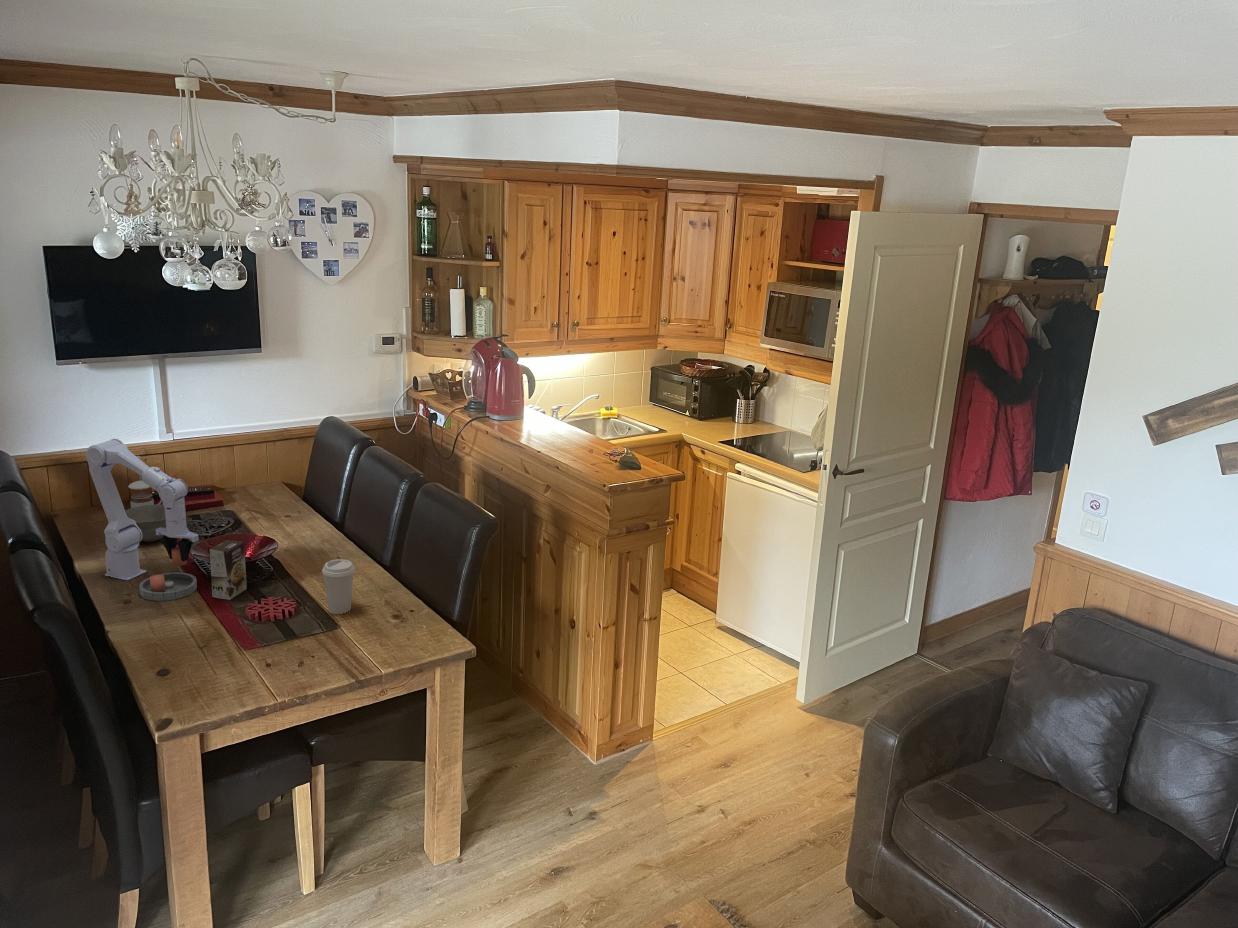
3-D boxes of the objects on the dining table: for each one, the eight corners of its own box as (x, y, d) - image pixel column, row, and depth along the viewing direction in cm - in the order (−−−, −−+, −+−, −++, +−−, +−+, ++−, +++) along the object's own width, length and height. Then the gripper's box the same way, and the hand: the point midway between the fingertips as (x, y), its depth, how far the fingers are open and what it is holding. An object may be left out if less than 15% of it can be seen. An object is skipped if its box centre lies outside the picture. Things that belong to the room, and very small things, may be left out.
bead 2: (169, 564, 288) (168, 549, 286) (178, 560, 291) (177, 545, 290) (180, 566, 286) (178, 551, 285) (189, 562, 290) (188, 547, 289)
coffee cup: (346, 600, 286) (345, 555, 282) (361, 610, 280) (360, 565, 276) (317, 608, 280) (316, 562, 276) (332, 619, 273) (331, 573, 269)
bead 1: (148, 593, 280) (146, 578, 279) (157, 588, 284) (156, 573, 283) (158, 595, 279) (157, 580, 278) (168, 590, 283) (167, 575, 282)
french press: (129, 516, 343) (123, 453, 336) (164, 514, 348) (158, 451, 341) (128, 525, 335) (122, 460, 328) (163, 522, 340) (158, 458, 333)
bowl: (186, 543, 322) (184, 516, 319) (126, 552, 312) (123, 524, 309) (176, 526, 337) (174, 501, 334) (118, 534, 326) (116, 508, 324)
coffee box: (230, 600, 282) (227, 551, 277) (211, 597, 283) (208, 549, 278) (247, 588, 290) (245, 541, 286) (229, 586, 291) (226, 538, 287)
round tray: (127, 595, 281) (127, 587, 280) (167, 576, 295) (166, 569, 295) (170, 604, 276) (169, 597, 276) (208, 585, 291) (207, 577, 290)
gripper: (204, 518, 286) (207, 558, 290) (166, 511, 290) (169, 551, 294) (187, 525, 280) (191, 566, 284) (149, 518, 284) (152, 558, 288)
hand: (179, 559), depth 288 cm, fingers closed on bead 2, 4 cm apart
